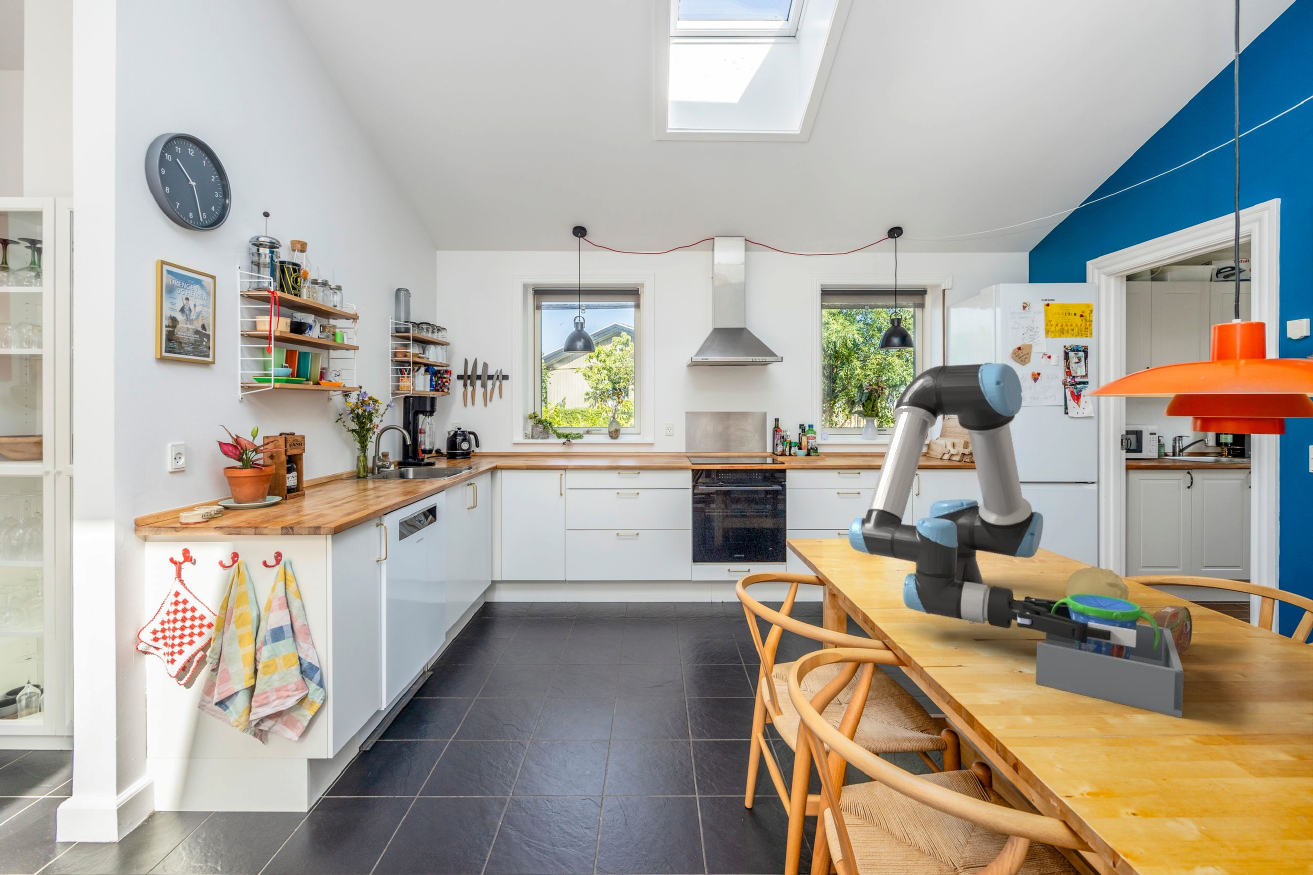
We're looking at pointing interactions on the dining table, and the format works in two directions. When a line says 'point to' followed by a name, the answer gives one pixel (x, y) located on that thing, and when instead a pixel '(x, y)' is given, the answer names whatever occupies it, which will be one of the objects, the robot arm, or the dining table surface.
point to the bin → (1117, 671)
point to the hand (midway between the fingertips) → (1134, 630)
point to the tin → (1176, 625)
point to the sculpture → (1097, 583)
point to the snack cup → (1106, 620)
